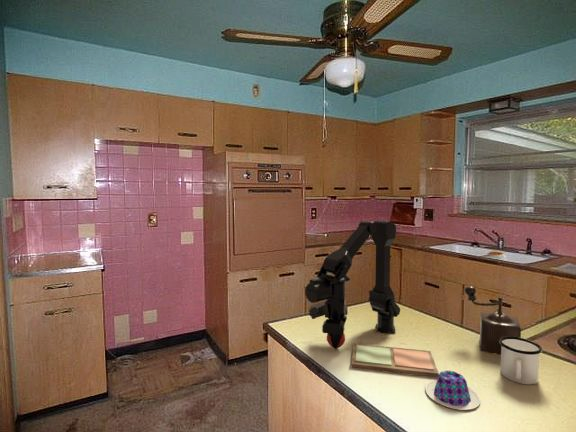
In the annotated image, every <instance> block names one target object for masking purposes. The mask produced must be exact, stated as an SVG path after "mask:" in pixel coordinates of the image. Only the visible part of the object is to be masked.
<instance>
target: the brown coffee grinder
mask: <svg viewBox="0 0 576 432" xmlns="http://www.w3.org/2000/svg"><path fill="white" fill-rule="evenodd" d="M463 292H464V293H465V294H466V296H467V301H470V303H472V305H475V306H482V307H483V306H485V307H488V306H489V307H490V306H491V307H492V306H493V307H494V306H498V309H497V310H496V311H494V312H493V311H492V312H485V311H484V312H483V311H481V312H480V323H479V324H480V327H479V329H480V330H479V348H480V350H481V352H483V353H488V354H493V355H499V356H501V345H500V343H499V339H500V338H502V337H506V336H513V337H520V338H522V336H521V335H522V328H521V325H520V322H519V319H518V317H517V316H512V315H509V314H507V313H505V312H503V311H502V310H503V309H502V308H503V304H504V301H503V300H504V298H503V297H502V296H499V297H498V298H497V300H498V301H497V302H477V301H476V300H477V299H478V298H477V296H476V293H477V288H476V287H474V286H472V285H468V286H466V287H464V288H463Z"/></svg>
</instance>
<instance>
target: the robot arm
mask: <svg viewBox="0 0 576 432" xmlns="http://www.w3.org/2000/svg"><path fill="white" fill-rule="evenodd" d="M396 232H397V225H396V224H395V223H394V222H393V221H391V220H390V221H389V220H379V219H378V220H377V219H376V220H375V221H365V220H362V221H360V222H359V223H358V226H357V227H356V229H355V230H354V231H353V232H352V233H351V235H350V236H348V238H347V240H346V241H345V242H344V243H343V244H342V245H341V247H340V248H339V249H337V250H335V251H332V252H331V253H330V254H329V255H327V256H326V257H325V258H324V260H323V262H322V266H321V268H320V269H319V271H318V273H317V275H316V278H311V279H309V283H308V284H307V285H306V287H305V289H304V293H305V297H306V299H307V300H308V302H309V303H311V304H312V305H310V306H309V308H308V315H309V317H311V319H312V320H315V319H316V318H317V319H318V318H320V317H323V316H324V318H326V319H325V320H324V321H323V323H322V326H321V330H322V333H323V334H328V333H329V335H330V338H331V342H332V346H333V347H332V348H333V349H334V350H338V349H337V347H338V344H339V342H340V340H341V337H342V335H343V334H345V328H346V327H345V324H346V321H347V316H348V313H349V312H348V310H349V309H348V306H347V305H346V283H347V282H350V280H351V278H350V277H349V276H347V274H348V272H349V271H350V269H351V267H352V265H353V259H354V257H355V255H356V254H357V253H358V251H360V250H361V249H362V246H364V245H365V243H366V241H367V240H369V238H370V237H371V240H372V241H373V243H374V244H375V271H374V272H375V275H374V276H375V281H374V282H375V283H374V287H373V288H372V289H370V290H369V291H368V294H369V297H368V301H369V304H370V306H371V311H372V312H376V313H377V319H376V320H377V323H375V326H376V327H375V329H376V332H377V333H386V334H387V333H388V334H396V327H395V322H394V321H395V317H397V318H398V317H399V315H400V313H401V307H400V306H399V305H398V304H397V302H396V301H395V300H396V299H395V294H394V292H393V289H392V288H391V282H390V281H391V280H390V279H391V247H392V244H393V242H394V241H395V239H396V234H397V233H396Z"/></svg>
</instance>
